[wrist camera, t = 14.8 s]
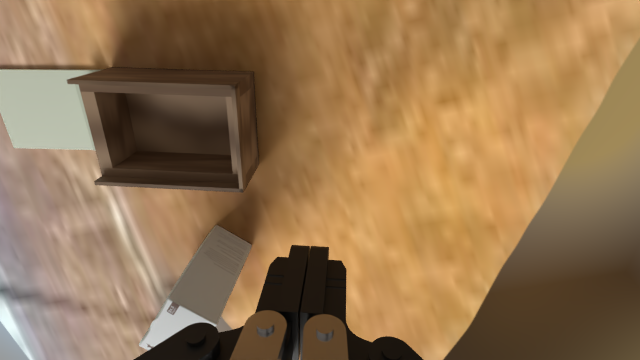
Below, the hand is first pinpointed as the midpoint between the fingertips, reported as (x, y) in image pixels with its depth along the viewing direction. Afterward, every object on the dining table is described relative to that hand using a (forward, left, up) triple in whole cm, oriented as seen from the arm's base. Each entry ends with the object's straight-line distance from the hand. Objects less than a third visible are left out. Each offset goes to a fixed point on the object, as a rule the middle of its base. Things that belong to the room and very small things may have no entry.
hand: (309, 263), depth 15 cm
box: (+3, -17, -29) cm, 34 cm away
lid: (+3, -33, -30) cm, 44 cm away
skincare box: (+22, -15, -29) cm, 40 cm away
